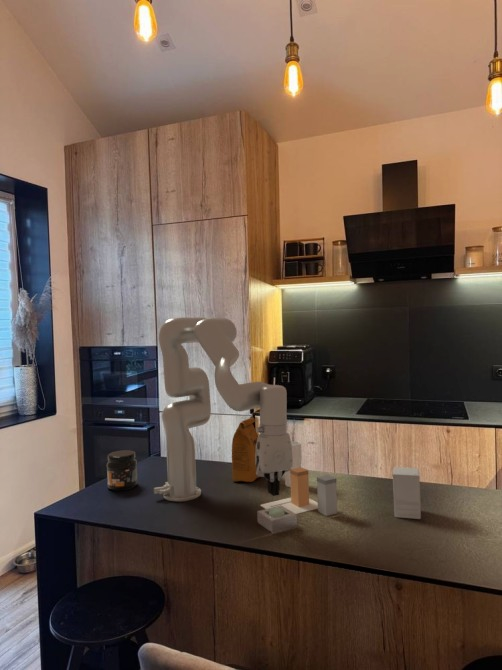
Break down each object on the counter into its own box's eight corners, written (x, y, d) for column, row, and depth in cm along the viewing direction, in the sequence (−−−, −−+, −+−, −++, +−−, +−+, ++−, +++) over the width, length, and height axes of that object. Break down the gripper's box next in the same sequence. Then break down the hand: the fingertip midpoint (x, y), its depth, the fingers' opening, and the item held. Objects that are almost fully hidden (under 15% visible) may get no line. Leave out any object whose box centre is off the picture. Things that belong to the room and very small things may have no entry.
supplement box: (420, 510, 141) (419, 467, 141) (421, 520, 134) (419, 475, 134) (394, 507, 143) (393, 466, 143) (393, 517, 136) (392, 473, 136)
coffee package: (268, 475, 179) (266, 417, 179) (252, 485, 168) (250, 423, 168) (244, 472, 184) (242, 415, 183) (228, 482, 173) (226, 421, 172)
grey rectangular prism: (326, 517, 138) (325, 480, 138) (317, 512, 142) (316, 477, 141) (337, 514, 140) (336, 478, 140) (328, 509, 144) (327, 474, 143)
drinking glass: (302, 482, 169) (301, 440, 169) (302, 489, 162) (301, 445, 162) (283, 482, 170) (282, 440, 169) (282, 489, 163) (281, 445, 163)
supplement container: (101, 489, 169) (99, 456, 168) (120, 480, 178) (118, 448, 178) (125, 493, 165) (124, 458, 164) (143, 483, 174) (142, 450, 174)
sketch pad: (280, 519, 138) (280, 517, 138) (259, 506, 148) (259, 504, 148) (324, 507, 145) (324, 506, 145) (302, 495, 156) (302, 494, 156)
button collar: (272, 533, 128) (271, 520, 128) (257, 523, 135) (257, 511, 135) (296, 526, 132) (296, 514, 132) (281, 517, 139) (281, 505, 139)
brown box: (298, 507, 145) (297, 472, 145) (291, 503, 149) (289, 469, 149) (309, 504, 147) (308, 470, 147) (301, 500, 151) (300, 467, 151)
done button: (274, 527, 131) (273, 515, 130) (266, 522, 134) (265, 509, 134) (287, 524, 133) (287, 511, 133) (279, 518, 137) (279, 506, 136)
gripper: (256, 435, 126) (257, 503, 127) (302, 429, 134) (303, 493, 134) (243, 430, 133) (244, 494, 134) (288, 423, 140) (288, 485, 141)
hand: (273, 493), depth 134 cm, fingers closed
